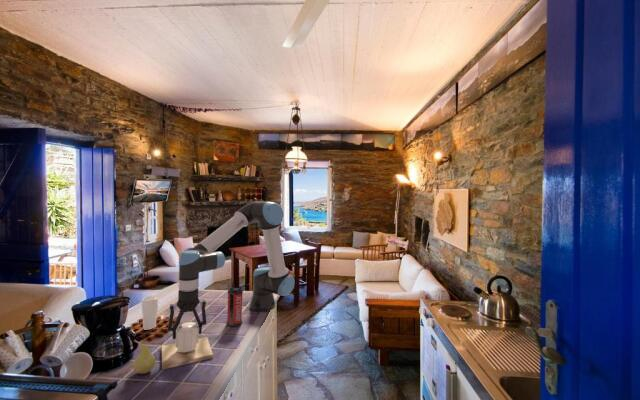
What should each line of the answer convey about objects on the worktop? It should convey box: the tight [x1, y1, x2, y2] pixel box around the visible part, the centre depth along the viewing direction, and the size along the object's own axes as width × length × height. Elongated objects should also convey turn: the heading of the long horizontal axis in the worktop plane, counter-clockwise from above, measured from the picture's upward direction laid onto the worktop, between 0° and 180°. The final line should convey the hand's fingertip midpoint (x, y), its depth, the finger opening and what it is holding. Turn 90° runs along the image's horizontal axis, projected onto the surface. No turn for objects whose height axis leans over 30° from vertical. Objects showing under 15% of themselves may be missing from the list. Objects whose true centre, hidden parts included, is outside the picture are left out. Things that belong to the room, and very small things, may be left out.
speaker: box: [226, 286, 244, 327], centre depth 149 cm, size 8×8×18 cm
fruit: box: [132, 339, 156, 375], centre depth 106 cm, size 7×8×12 cm
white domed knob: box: [177, 321, 198, 352], centre depth 120 cm, size 7×7×10 cm
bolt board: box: [161, 336, 214, 371], centre depth 120 cm, size 18×16×8 cm
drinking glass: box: [141, 295, 159, 331], centre depth 140 cm, size 7×7×15 cm
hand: (187, 343), depth 120 cm, fingers closed on white domed knob, 7 cm apart
